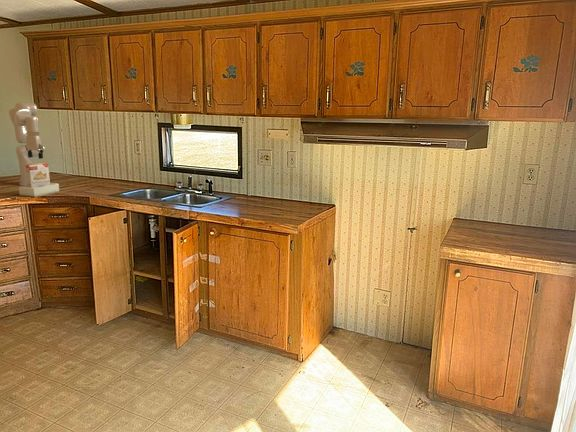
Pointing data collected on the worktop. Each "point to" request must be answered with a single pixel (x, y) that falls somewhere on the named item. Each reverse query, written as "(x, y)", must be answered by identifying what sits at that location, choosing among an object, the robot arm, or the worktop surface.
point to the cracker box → (37, 175)
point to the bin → (39, 190)
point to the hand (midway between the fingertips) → (35, 157)
